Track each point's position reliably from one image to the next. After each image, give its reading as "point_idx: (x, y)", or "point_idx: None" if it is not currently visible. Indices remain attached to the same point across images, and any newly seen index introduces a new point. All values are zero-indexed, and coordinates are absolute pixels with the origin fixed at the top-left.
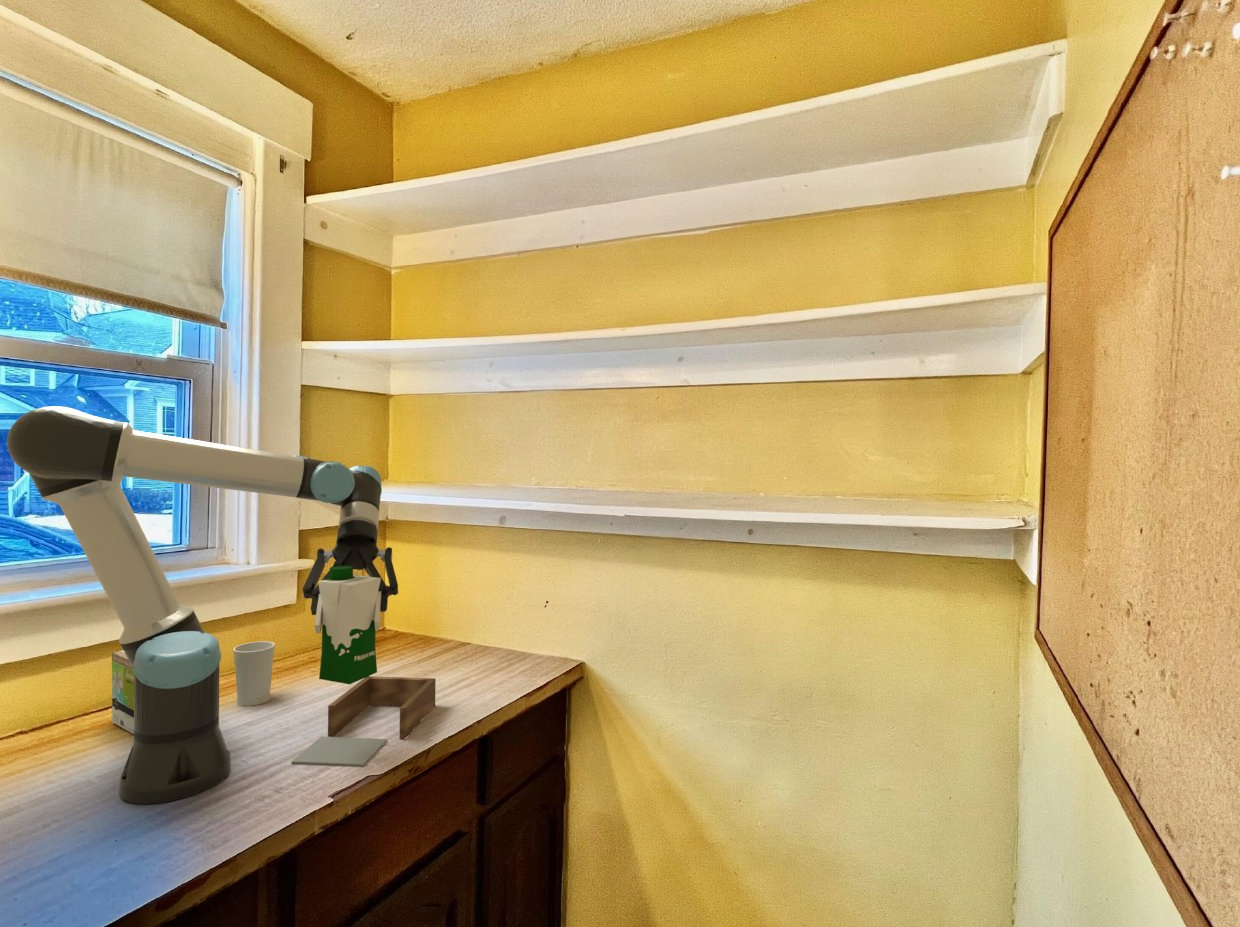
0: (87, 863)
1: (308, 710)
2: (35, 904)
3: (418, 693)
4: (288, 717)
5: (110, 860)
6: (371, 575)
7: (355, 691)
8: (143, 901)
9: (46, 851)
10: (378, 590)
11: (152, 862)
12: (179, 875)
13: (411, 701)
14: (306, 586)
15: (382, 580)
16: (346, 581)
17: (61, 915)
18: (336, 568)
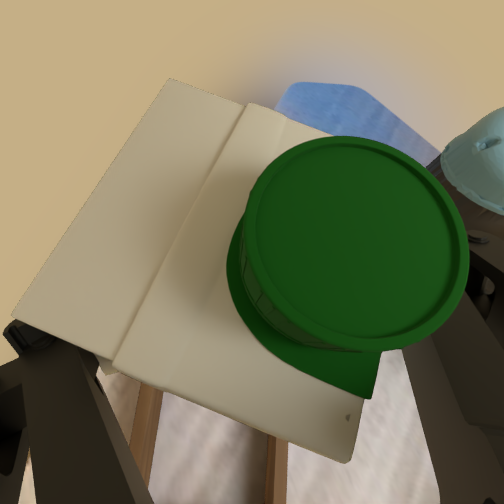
0: (360, 129)
1: (365, 485)
2: (355, 94)
3: (133, 448)
4: (381, 448)
5: (347, 131)
6: (127, 464)
7: (274, 468)
8: (287, 92)
9: (405, 143)
10: (107, 403)
11: (313, 127)
12: (282, 113)
13: (140, 398)
14: (489, 242)
15: (31, 397)
16: (229, 139)
17: (330, 84)
18: (385, 200)
